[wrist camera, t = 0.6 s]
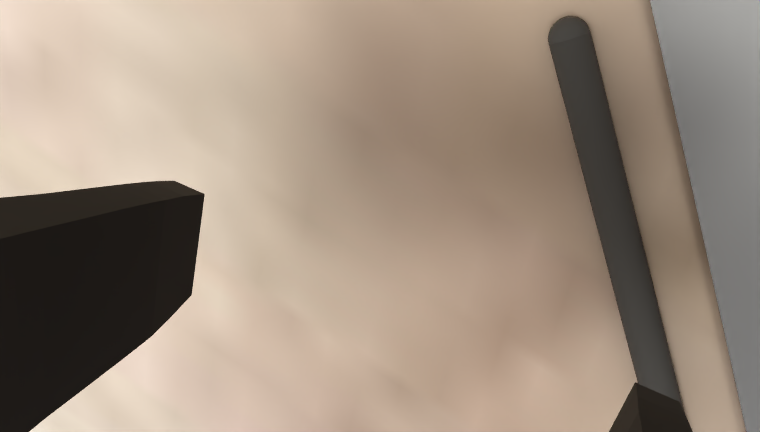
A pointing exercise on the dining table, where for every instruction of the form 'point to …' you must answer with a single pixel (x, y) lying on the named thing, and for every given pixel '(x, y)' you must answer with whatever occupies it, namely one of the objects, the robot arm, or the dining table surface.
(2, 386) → the robot arm
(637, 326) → the dark grey rod
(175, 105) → the dining table surface
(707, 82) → the breaker panel
